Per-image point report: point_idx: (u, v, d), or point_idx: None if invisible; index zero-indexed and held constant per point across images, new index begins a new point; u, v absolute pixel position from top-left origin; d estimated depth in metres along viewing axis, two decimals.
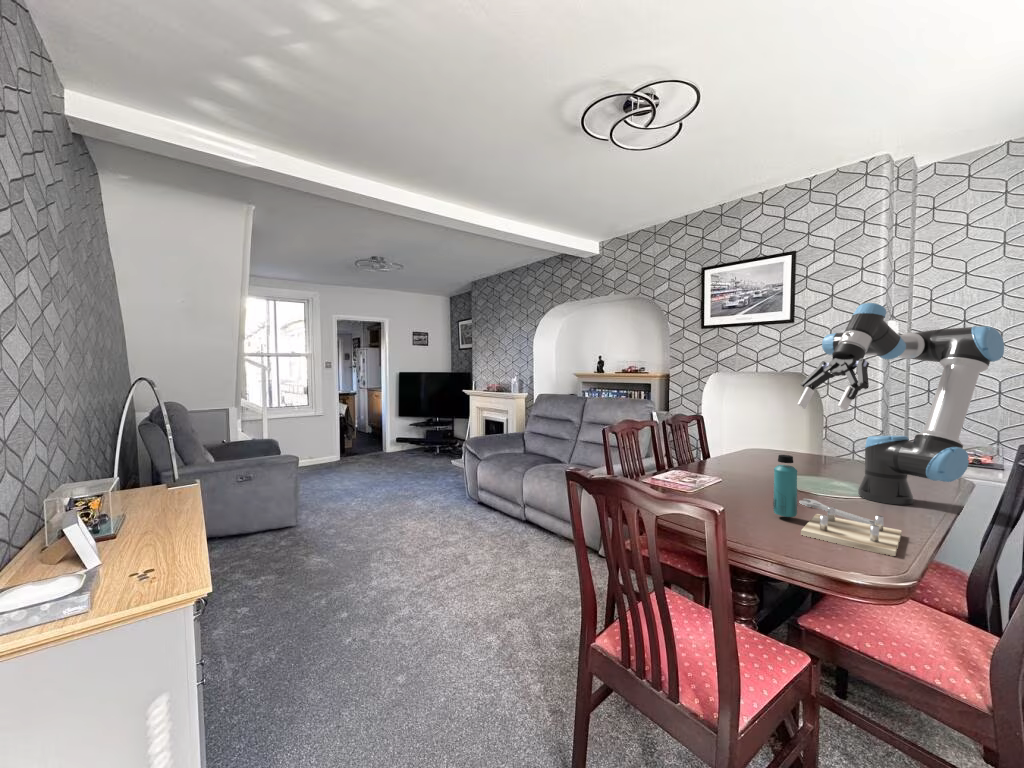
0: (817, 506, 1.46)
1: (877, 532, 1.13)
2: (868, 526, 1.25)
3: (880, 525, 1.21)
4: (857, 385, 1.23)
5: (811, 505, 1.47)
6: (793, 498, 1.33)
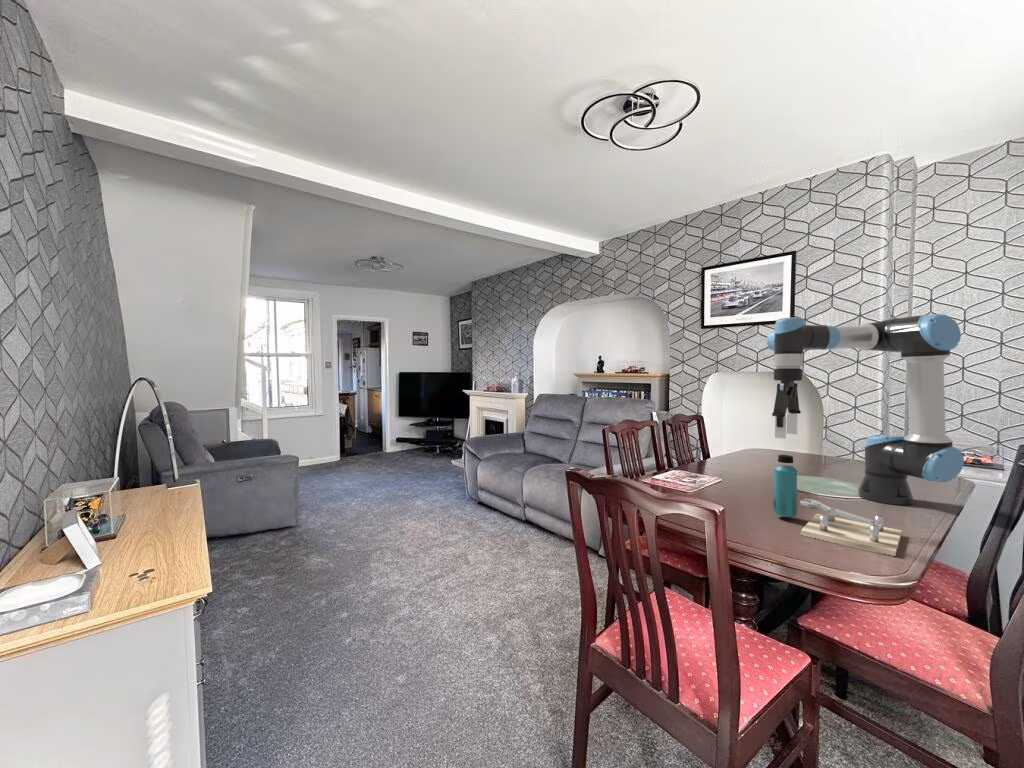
0: (818, 506, 1.46)
1: (877, 532, 1.13)
2: (868, 526, 1.25)
3: (880, 525, 1.21)
4: None
5: (812, 505, 1.47)
6: (794, 498, 1.33)
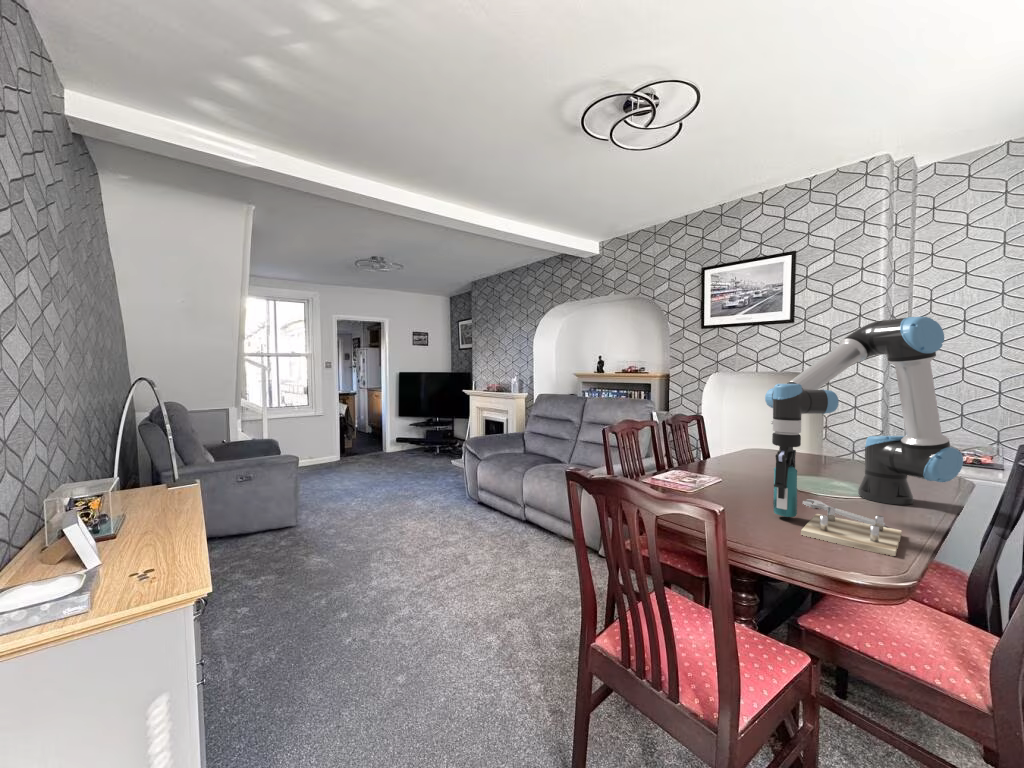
0: (821, 507, 1.45)
1: (877, 532, 1.13)
2: (868, 526, 1.25)
3: (880, 525, 1.21)
4: None
5: (815, 506, 1.46)
6: (793, 498, 1.33)
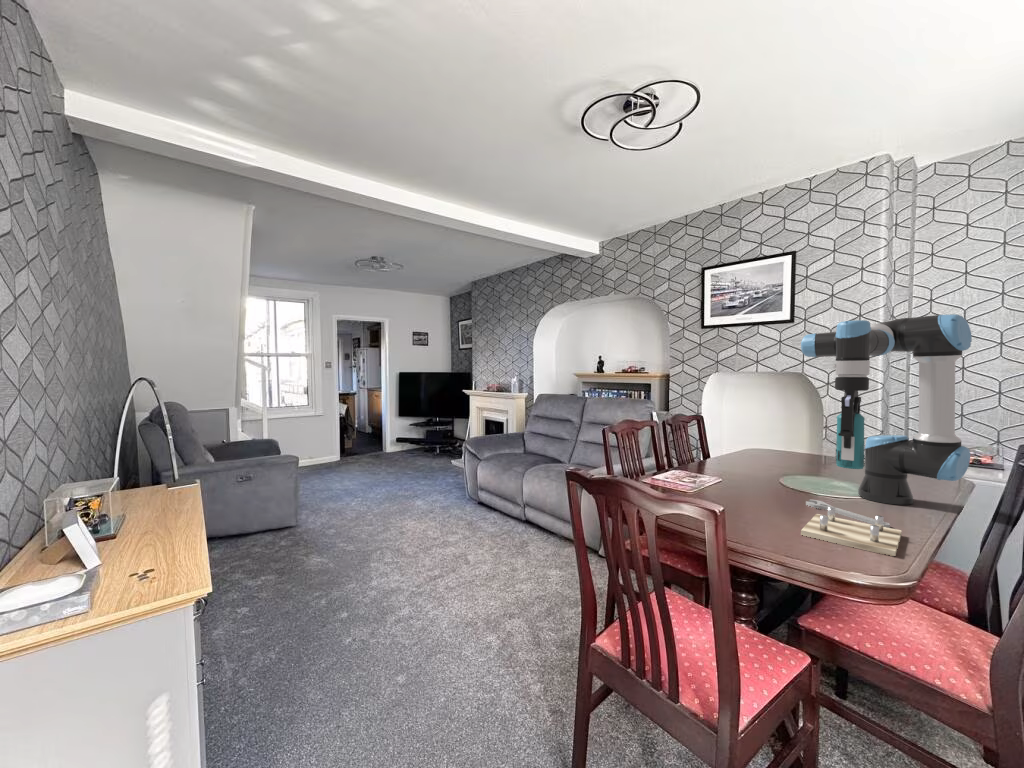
0: (824, 507, 1.45)
1: (877, 532, 1.13)
2: (868, 526, 1.25)
3: (880, 525, 1.21)
4: None
5: (818, 506, 1.46)
6: (861, 447, 1.19)
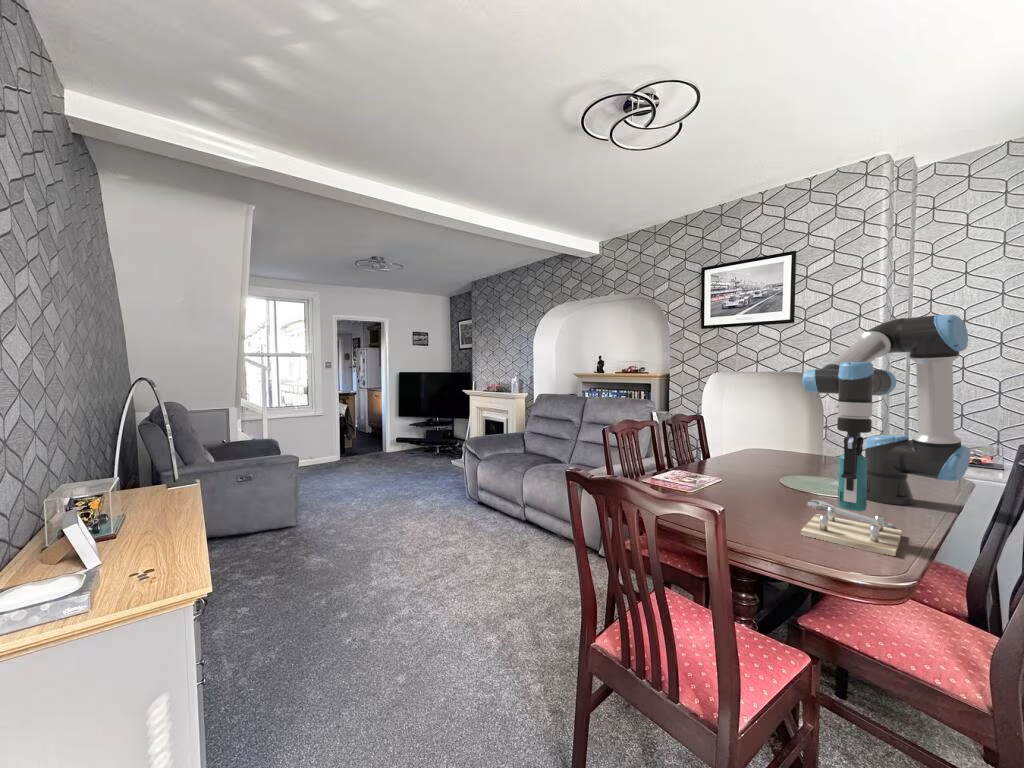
0: (826, 507, 1.44)
1: (877, 532, 1.13)
2: (868, 526, 1.25)
3: (880, 525, 1.21)
4: None
5: (820, 507, 1.45)
6: (863, 489, 1.19)
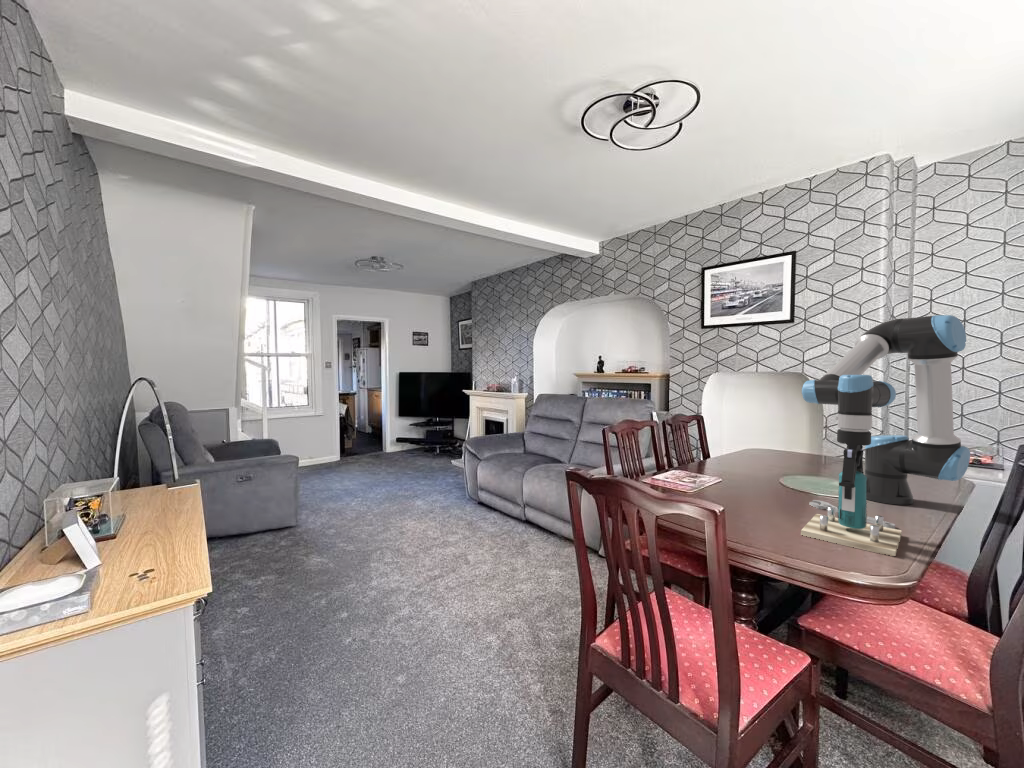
0: None
1: (877, 532, 1.13)
2: (868, 526, 1.25)
3: (880, 525, 1.21)
4: (844, 484, 1.16)
5: (822, 507, 1.45)
6: (863, 507, 1.19)
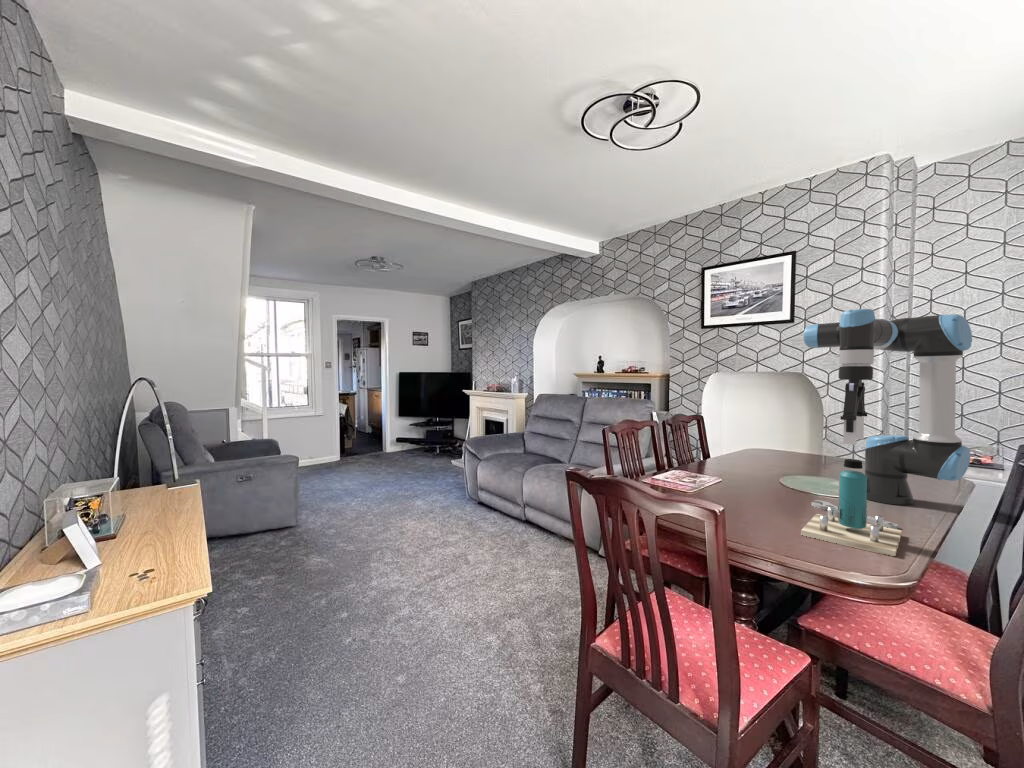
0: None
1: (877, 532, 1.13)
2: (868, 526, 1.25)
3: (880, 525, 1.21)
4: (846, 417, 1.16)
5: (824, 507, 1.45)
6: (863, 507, 1.19)
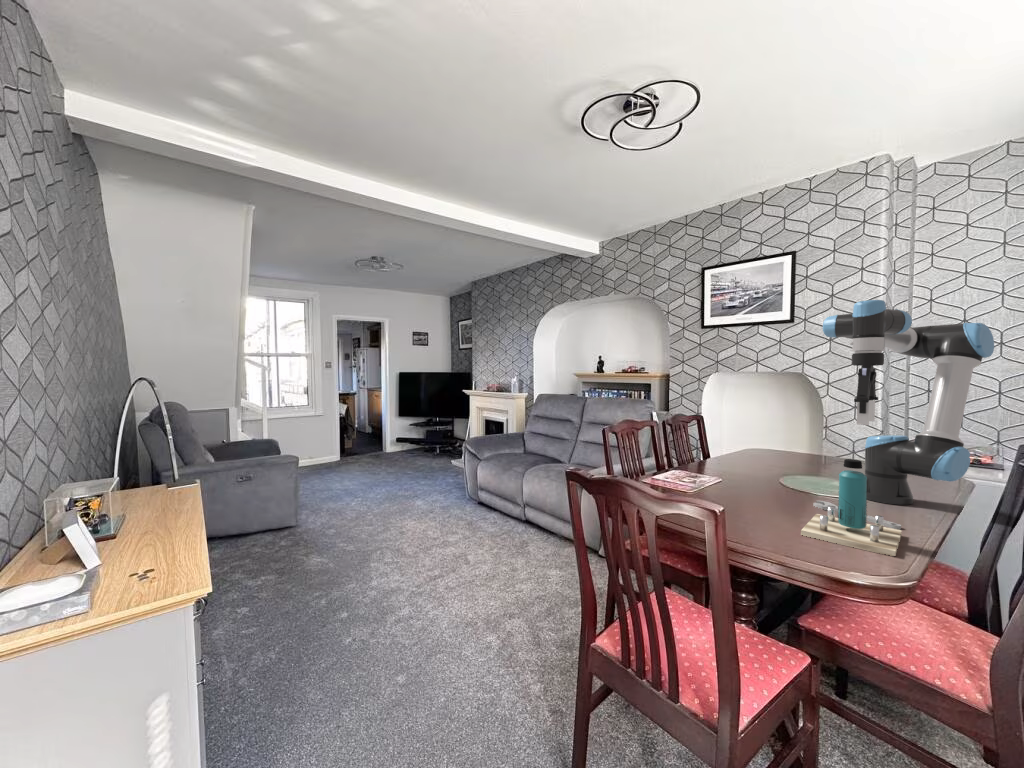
0: None
1: (877, 532, 1.13)
2: (868, 526, 1.25)
3: (880, 525, 1.21)
4: None
5: (826, 507, 1.44)
6: (863, 507, 1.19)
